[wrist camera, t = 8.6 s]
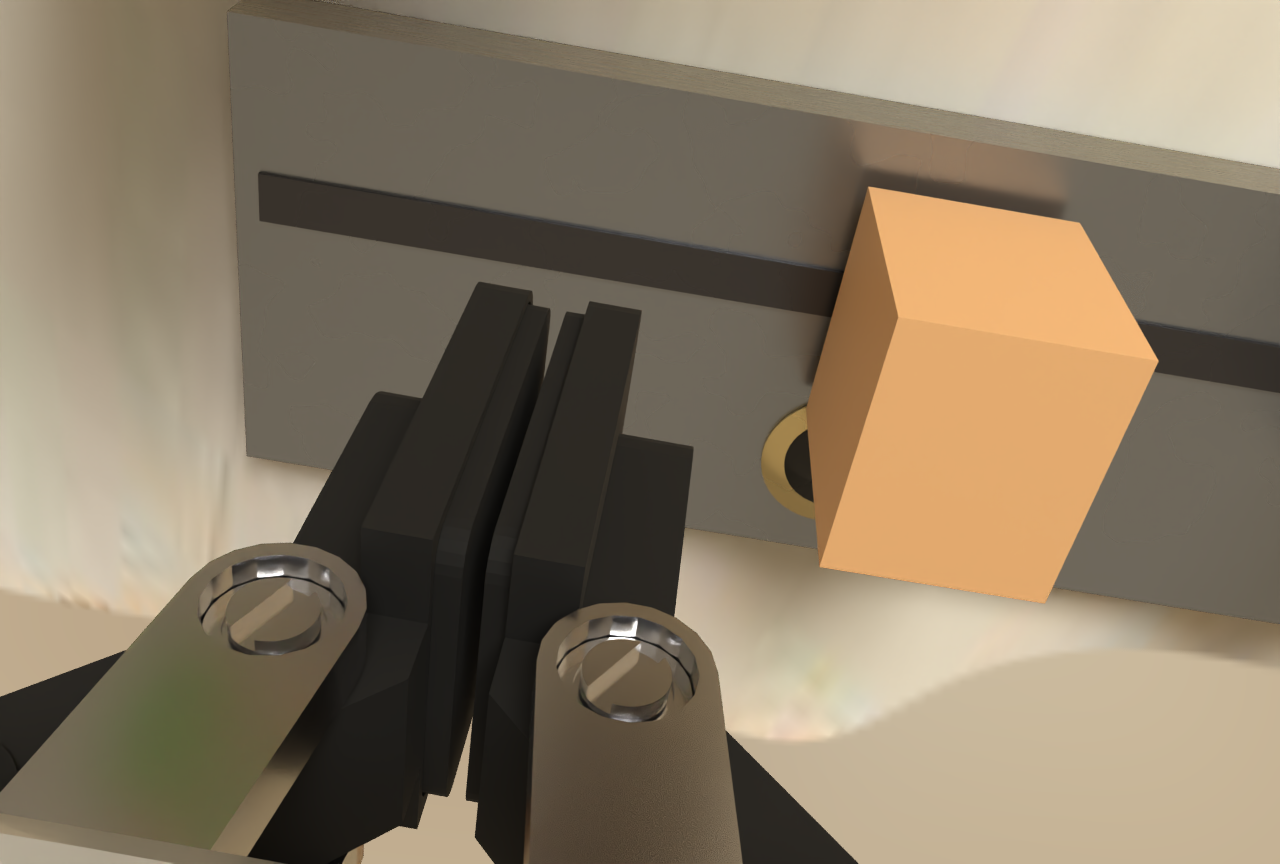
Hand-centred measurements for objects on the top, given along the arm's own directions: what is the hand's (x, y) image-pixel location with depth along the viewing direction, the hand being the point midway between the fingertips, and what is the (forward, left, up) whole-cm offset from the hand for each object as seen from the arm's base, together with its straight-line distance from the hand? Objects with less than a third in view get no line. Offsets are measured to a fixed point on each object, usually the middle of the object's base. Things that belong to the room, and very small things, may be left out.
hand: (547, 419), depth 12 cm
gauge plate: (-7, +5, -13) cm, 15 cm away
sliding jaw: (-7, +5, -11) cm, 14 cm away
